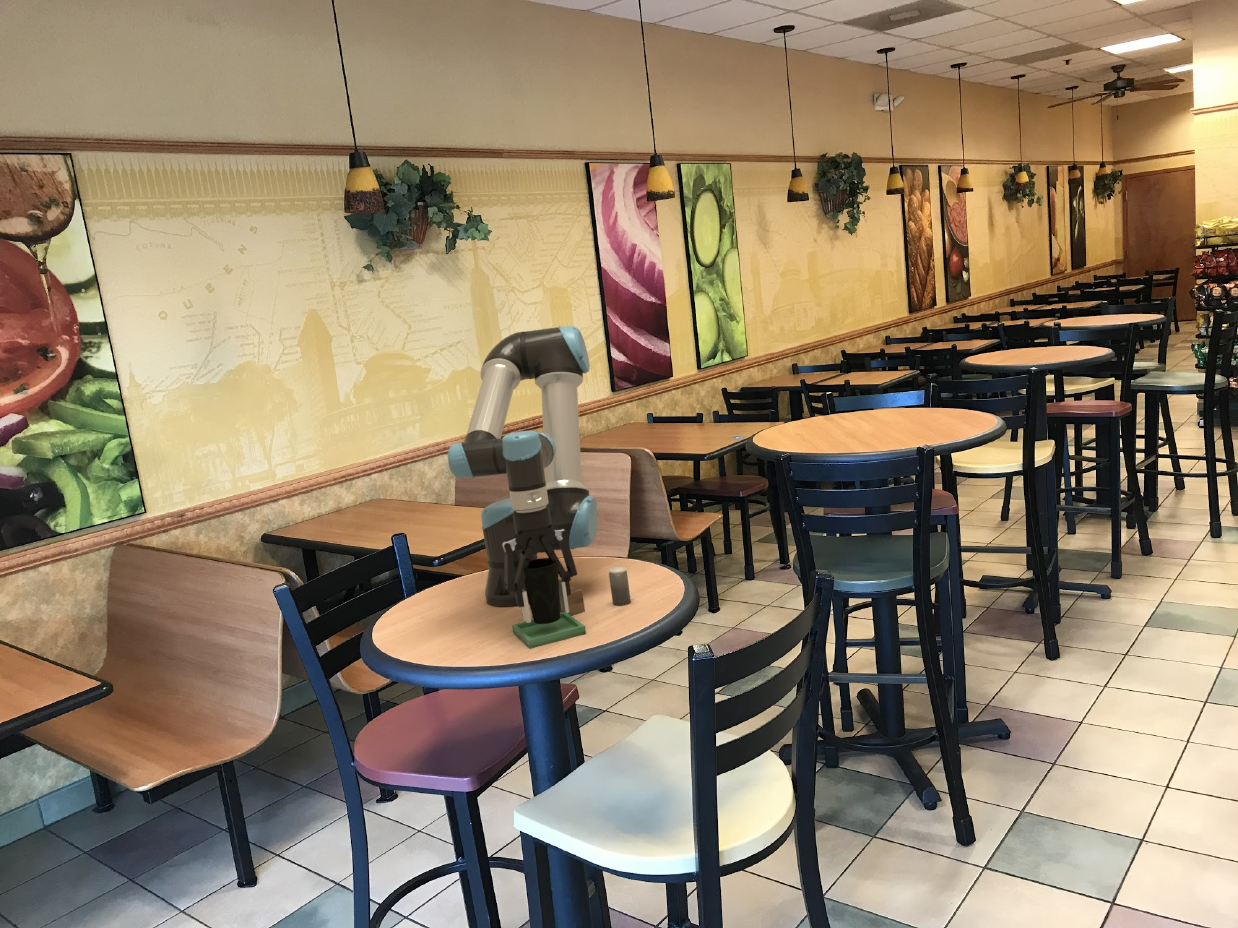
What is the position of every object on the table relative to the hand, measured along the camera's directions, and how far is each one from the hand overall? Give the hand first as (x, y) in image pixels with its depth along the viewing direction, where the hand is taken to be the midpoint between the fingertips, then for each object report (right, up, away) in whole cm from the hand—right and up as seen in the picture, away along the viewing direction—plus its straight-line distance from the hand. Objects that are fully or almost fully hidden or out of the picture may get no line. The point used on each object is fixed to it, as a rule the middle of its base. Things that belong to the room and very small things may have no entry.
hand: (546, 615), depth 192 cm
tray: (0, -4, +1) cm, 4 cm away
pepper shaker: (+16, +1, +14) cm, 21 cm away
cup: (0, -1, 0) cm, 1 cm away
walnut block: (+5, -1, +12) cm, 13 cm away
